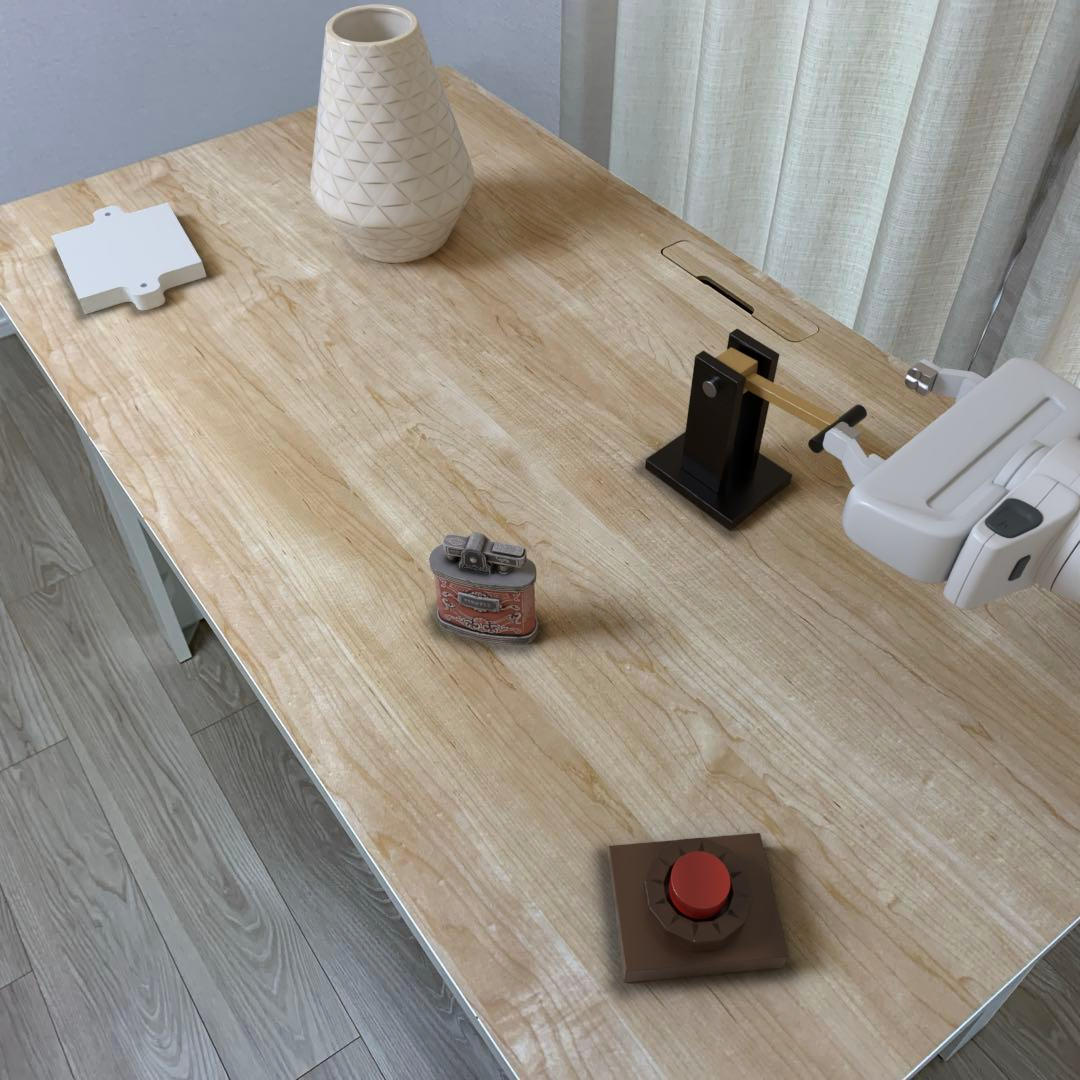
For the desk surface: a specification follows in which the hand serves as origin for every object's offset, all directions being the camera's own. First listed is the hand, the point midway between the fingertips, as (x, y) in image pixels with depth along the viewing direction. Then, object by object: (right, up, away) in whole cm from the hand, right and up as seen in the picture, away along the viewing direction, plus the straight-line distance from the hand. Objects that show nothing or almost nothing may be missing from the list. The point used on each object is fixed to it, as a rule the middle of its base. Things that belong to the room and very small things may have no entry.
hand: (872, 401), depth 73 cm
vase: (-39, +24, +44) cm, 63 cm away
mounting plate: (-68, +20, +41) cm, 82 cm away
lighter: (-27, -16, +10) cm, 33 cm away
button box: (-13, -34, -5) cm, 37 cm away
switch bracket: (-8, -4, +19) cm, 21 cm away
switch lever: (-5, +1, +8) cm, 10 cm away
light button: (-13, -31, -8) cm, 35 cm away
